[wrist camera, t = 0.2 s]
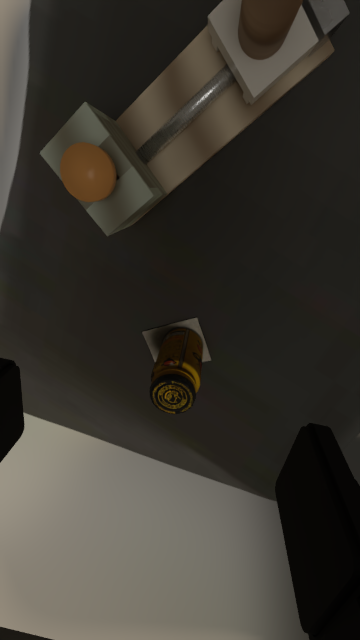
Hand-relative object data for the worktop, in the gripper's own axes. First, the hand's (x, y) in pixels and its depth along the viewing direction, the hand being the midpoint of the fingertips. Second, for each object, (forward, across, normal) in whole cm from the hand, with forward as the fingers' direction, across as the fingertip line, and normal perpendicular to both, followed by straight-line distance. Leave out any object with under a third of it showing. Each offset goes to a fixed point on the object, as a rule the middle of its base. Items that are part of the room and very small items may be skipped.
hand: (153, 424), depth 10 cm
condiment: (+31, +1, +15) cm, 34 cm away
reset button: (+22, +10, -7) cm, 25 cm away
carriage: (+29, -2, -19) cm, 35 cm away
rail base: (+31, +4, -14) cm, 34 cm away
